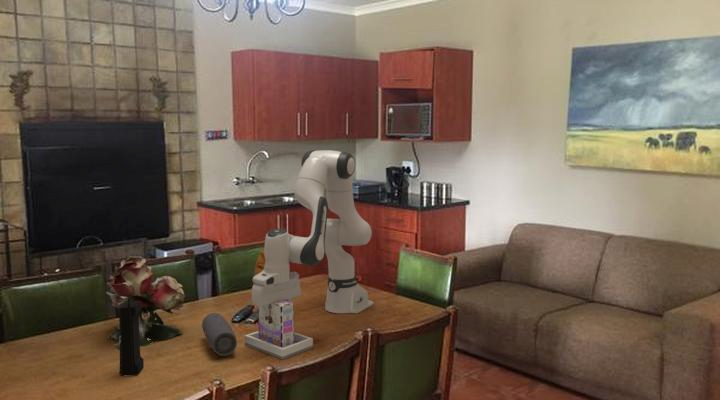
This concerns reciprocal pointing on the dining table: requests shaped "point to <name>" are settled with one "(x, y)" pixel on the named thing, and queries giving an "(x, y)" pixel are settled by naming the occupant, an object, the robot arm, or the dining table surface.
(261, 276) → the robot arm
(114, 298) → the rose bouquet
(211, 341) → the bluetooth speaker
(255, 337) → the white tray
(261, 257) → the coffee package
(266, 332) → the candy box
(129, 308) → the portable radio
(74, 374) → the dining table surface
